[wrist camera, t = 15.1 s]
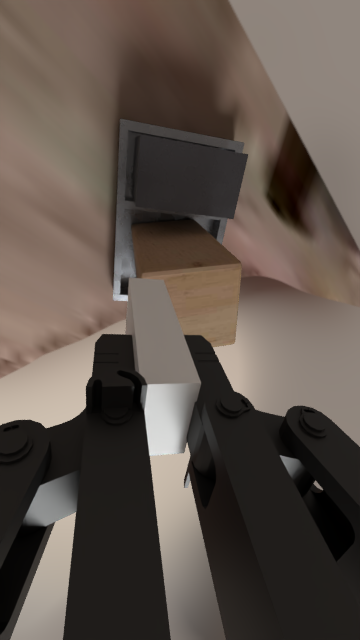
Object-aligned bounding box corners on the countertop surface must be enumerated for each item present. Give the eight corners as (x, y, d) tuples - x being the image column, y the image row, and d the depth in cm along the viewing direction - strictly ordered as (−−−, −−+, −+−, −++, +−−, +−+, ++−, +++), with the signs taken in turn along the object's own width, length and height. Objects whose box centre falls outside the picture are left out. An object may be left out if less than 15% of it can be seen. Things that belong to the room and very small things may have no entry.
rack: (113, 289, 49) (112, 322, 40) (119, 121, 37) (121, 112, 28) (205, 294, 53) (224, 326, 44) (237, 143, 41) (272, 143, 32)
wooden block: (130, 223, 43) (140, 272, 26) (195, 218, 44) (244, 262, 28) (137, 284, 48) (149, 358, 31) (195, 278, 50) (236, 345, 33)
